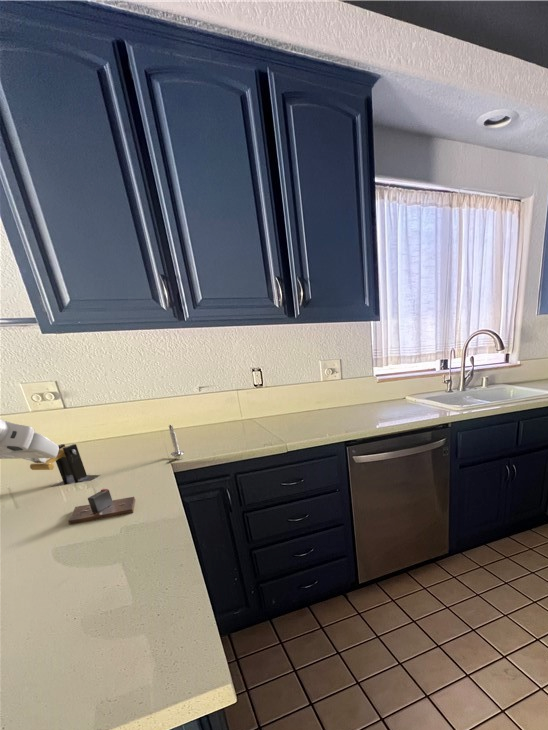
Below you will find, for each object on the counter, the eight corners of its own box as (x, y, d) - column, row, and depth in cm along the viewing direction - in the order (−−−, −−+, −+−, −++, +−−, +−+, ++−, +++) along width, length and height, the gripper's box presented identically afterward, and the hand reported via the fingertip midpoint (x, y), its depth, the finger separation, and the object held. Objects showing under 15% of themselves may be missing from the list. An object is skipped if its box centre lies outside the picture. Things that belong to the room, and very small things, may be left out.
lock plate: (72, 531, 106) (67, 520, 105) (79, 516, 115) (75, 506, 113) (135, 519, 112) (131, 508, 110) (137, 506, 120) (134, 495, 119)
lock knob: (98, 512, 109) (92, 497, 107) (92, 512, 109) (86, 497, 107) (113, 503, 114) (108, 488, 113) (107, 503, 115) (103, 488, 113)
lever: (50, 471, 126) (46, 464, 125) (32, 471, 127) (28, 464, 125) (79, 453, 136) (75, 446, 135) (61, 453, 137) (58, 446, 136)
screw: (168, 460, 160) (178, 456, 164) (179, 460, 159) (188, 457, 163) (160, 425, 155) (169, 422, 159) (170, 426, 154) (180, 423, 158)
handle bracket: (77, 490, 134) (63, 451, 129) (51, 490, 135) (35, 451, 129) (101, 478, 144) (89, 441, 138) (77, 478, 145) (63, 441, 139)
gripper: (-42, 448, 113) (6, 470, 126) (28, 447, 111) (69, 470, 124) (-33, 427, 116) (13, 451, 128) (35, 426, 113) (76, 451, 126)
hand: (41, 460), depth 126 cm, fingers closed
